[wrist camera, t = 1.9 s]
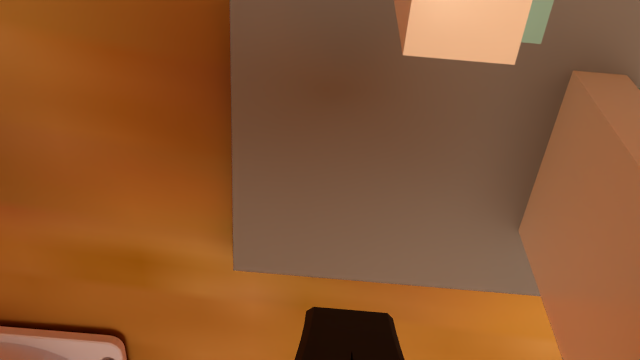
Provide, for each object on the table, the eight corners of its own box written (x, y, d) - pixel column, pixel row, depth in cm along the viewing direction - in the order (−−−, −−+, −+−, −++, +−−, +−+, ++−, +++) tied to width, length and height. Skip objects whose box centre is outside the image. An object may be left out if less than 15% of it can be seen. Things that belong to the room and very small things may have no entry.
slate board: (799, 304, 19) (811, 319, 19) (236, 257, 19) (233, 270, 19) (1442, -542, 9) (1505, -559, 8) (227, -655, 9) (220, -679, 8)
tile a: (573, 235, 17) (682, 472, 12) (518, 231, 17) (599, 465, 12) (639, 76, 15) (825, 287, 9) (573, 70, 14) (715, 278, 9)
